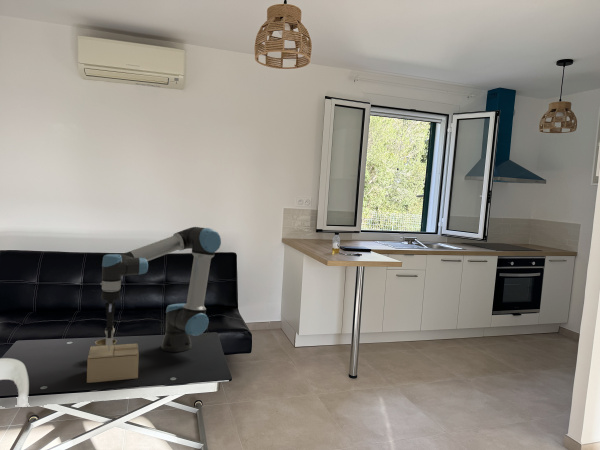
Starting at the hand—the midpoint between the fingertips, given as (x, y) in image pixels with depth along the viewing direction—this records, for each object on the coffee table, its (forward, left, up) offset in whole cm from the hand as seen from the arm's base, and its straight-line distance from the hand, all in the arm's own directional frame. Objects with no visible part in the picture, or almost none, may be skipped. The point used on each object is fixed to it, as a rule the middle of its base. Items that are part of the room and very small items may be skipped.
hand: (109, 342), depth 191 cm
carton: (-2, 0, -14) cm, 14 cm away
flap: (+3, 0, -4) cm, 5 cm away
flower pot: (+2, -20, -15) cm, 25 cm away
